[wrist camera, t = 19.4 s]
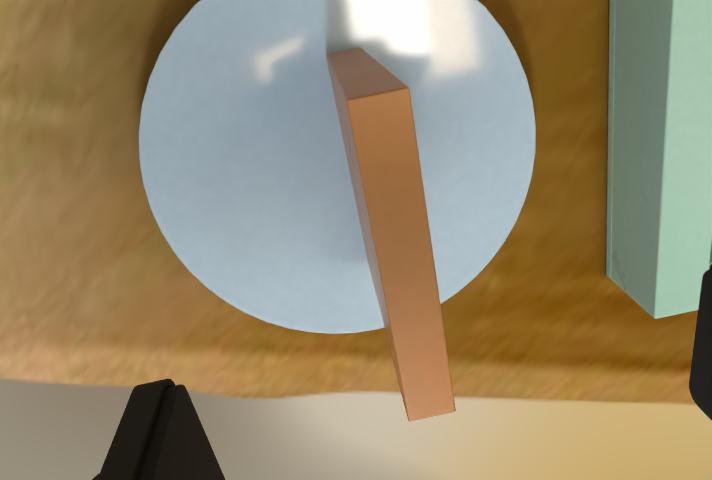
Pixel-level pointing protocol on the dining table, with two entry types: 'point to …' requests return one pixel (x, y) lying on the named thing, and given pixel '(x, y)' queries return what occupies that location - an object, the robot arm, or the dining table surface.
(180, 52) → the plate
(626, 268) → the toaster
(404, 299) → the copper rectangular plank
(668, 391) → the dining table surface
